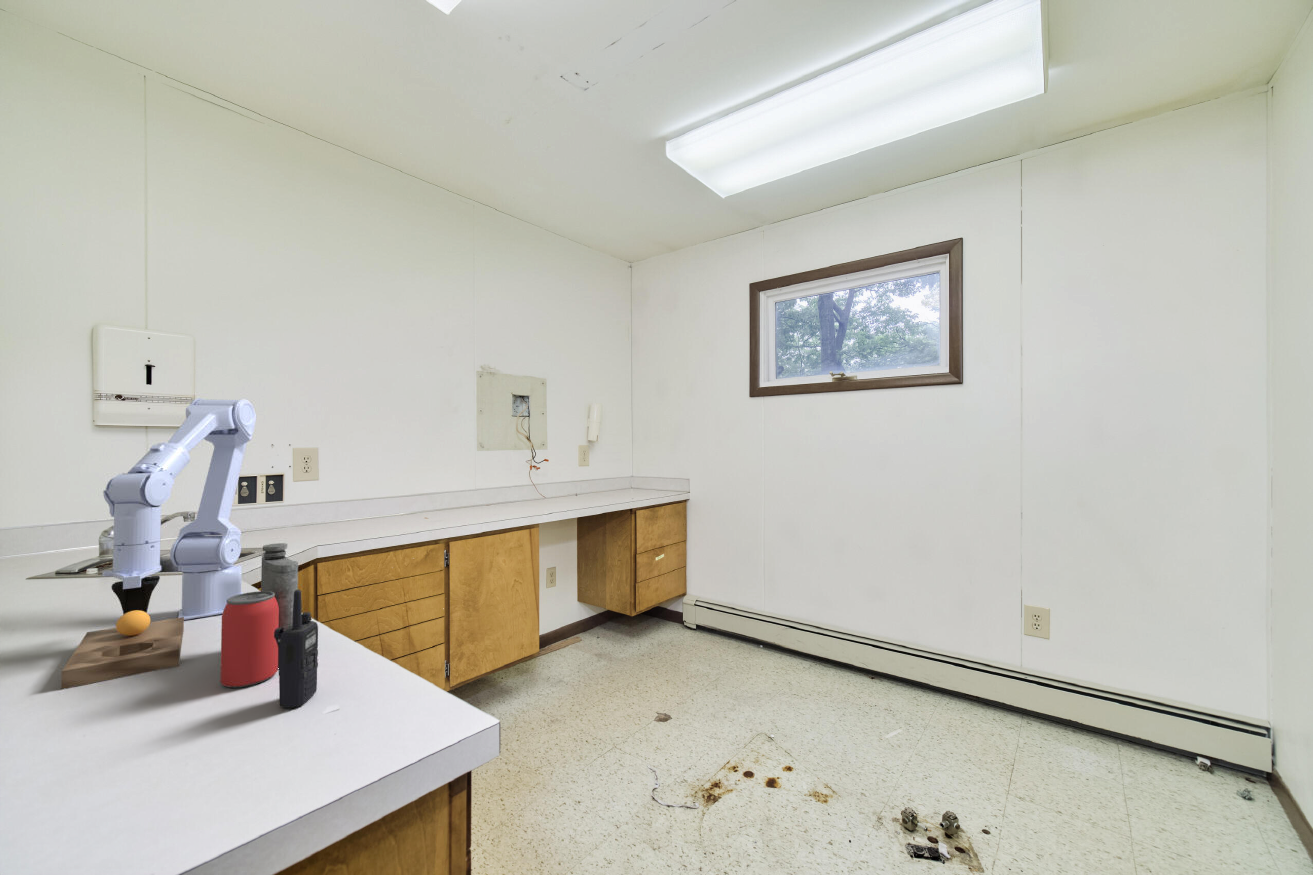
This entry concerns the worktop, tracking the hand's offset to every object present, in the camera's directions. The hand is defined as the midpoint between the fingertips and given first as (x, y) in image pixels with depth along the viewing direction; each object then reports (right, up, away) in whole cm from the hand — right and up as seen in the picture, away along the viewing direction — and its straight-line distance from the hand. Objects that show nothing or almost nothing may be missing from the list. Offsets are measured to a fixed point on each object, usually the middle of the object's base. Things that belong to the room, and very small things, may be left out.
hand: (135, 622), depth 88 cm
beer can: (+30, -4, -13) cm, 33 cm away
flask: (+27, -4, -5) cm, 28 cm away
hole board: (+5, -4, -5) cm, 8 cm away
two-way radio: (+41, -4, -20) cm, 46 cm away
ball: (+3, +1, -3) cm, 4 cm away
